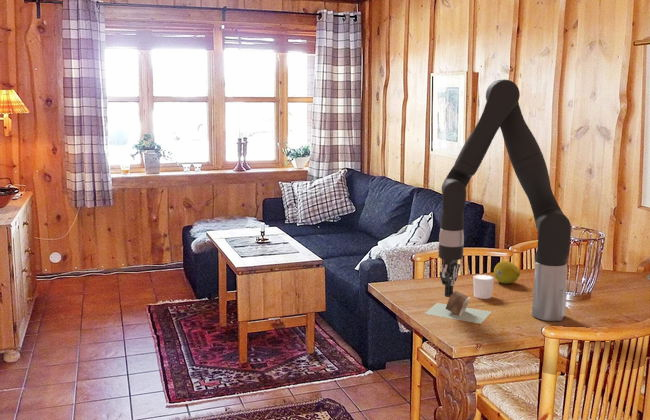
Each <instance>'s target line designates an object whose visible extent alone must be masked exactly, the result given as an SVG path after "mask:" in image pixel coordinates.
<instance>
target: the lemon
mask: <svg viewBox="0 0 650 420" xmlns="http://www.w3.org/2000/svg"><path fill="white" fill-rule="evenodd" d="M493 274H494V279H496V281H498V283H501V284H505V285H508V284H513V283H515V282H516V281H517V280H518V279H519V278H520V276H521V272H520V270H519V267H518V266H517V265H516V264H514V263H512V262H510V261H507V260H503V261H500V262H498V263H497V264H496V265H495V267H494V269H493Z"/></svg>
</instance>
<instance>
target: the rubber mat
mask: <svg viewBox="0 0 650 420" xmlns="http://www.w3.org/2000/svg"><path fill="white" fill-rule="evenodd" d="M446 306H447V303H441V302H436V303H435V304H434V305H433V306H431V307H430V308H429V309H428V310H427V311H426V312H424V313H423V314H424V315H428V316H434V317H439V318H440V317H441V318H446V319H450V320H457V321H463V322H469V323H473V324H482V323H483V322H484V321H485V320H486V319H487V318H488V317H489V315H491V313H492V311H490V310H485V309H484V310H483V309H477V308H471V307H467V308H466V310H465V312H464V313H463V314H462V315H461V316H459V315H457V314H455V313H453V312H451V311H449V310H447V309H446Z"/></svg>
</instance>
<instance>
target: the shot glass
mask: <svg viewBox="0 0 650 420" xmlns="http://www.w3.org/2000/svg"><path fill="white" fill-rule="evenodd" d="M472 278H473V280H472V283H473V284H472V285H473V296H474V297H475V298H477V299H480V300H481V299H482V300H484V299H485V300H487V299H491V298H492V296H493V295H492V294H493V287H494V281H495V276H492V275H489V274H480V273H479V274H475V275H473V276H472Z"/></svg>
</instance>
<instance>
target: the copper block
mask: <svg viewBox="0 0 650 420" xmlns="http://www.w3.org/2000/svg"><path fill="white" fill-rule="evenodd" d="M470 299H471V297H470V296H468V295H466V294H465V293H462V292H460V291H458V290H454V291H453V293H452V294H451V295H450V297H448V301H447V303H446V304H447V306H446V309H447V310H449V311H451V312H453V313H455V314H457V315H459V316H461V315H462V314H463V313H464V312H465V310H466V308H468V304H469V302H470Z"/></svg>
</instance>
